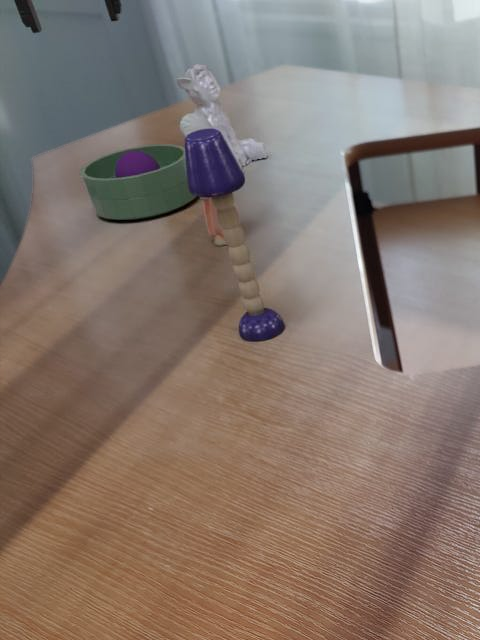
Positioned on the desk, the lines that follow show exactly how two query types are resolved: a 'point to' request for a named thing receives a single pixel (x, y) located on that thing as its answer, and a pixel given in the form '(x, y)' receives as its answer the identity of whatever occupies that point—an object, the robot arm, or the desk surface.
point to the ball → (135, 164)
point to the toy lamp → (229, 223)
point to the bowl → (138, 185)
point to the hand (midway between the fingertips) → (76, 26)
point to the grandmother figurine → (210, 211)
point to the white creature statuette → (218, 113)
